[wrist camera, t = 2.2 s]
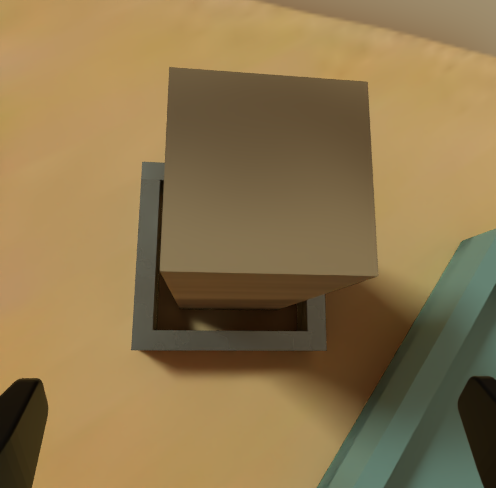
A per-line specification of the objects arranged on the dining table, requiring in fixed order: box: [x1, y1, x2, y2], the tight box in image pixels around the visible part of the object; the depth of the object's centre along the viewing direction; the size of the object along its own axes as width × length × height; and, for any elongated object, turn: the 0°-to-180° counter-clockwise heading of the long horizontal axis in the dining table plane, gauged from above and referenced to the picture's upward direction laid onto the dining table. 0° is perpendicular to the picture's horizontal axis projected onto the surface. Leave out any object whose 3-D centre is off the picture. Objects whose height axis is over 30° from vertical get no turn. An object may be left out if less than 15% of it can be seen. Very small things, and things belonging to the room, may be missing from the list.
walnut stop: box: [160, 67, 378, 310], centre depth 15 cm, size 4×4×12 cm
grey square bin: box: [131, 162, 327, 351], centre depth 20 cm, size 8×8×2 cm
